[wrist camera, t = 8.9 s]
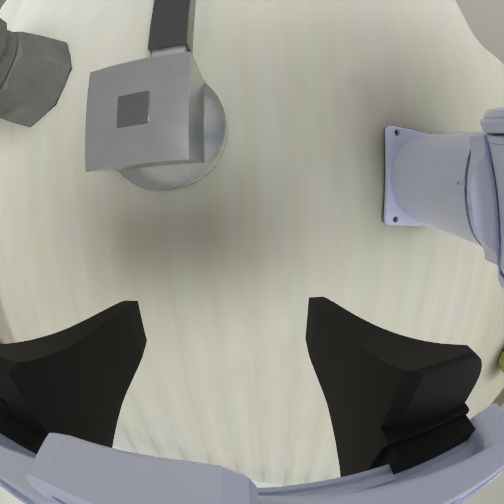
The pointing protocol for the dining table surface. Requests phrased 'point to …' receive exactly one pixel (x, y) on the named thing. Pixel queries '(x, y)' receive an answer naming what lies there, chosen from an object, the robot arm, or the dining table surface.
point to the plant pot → (501, 361)
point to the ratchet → (215, 125)
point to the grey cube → (145, 114)
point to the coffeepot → (30, 75)
